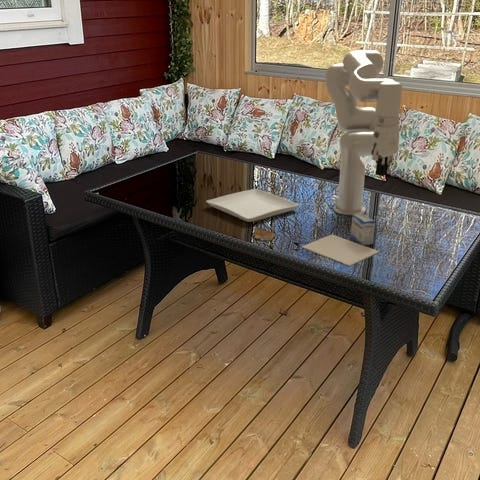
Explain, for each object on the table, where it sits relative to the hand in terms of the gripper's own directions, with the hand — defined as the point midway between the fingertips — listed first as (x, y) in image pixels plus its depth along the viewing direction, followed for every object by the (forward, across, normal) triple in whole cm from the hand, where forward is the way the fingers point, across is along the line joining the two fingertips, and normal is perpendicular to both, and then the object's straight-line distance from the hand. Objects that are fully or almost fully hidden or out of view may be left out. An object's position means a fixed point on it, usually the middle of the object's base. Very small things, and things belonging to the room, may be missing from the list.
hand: (381, 174), depth 187 cm
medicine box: (+22, -8, 0) cm, 24 cm away
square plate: (+23, -14, +49) cm, 56 cm away
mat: (+22, -20, 0) cm, 30 cm away
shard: (+23, -31, +27) cm, 47 cm away
